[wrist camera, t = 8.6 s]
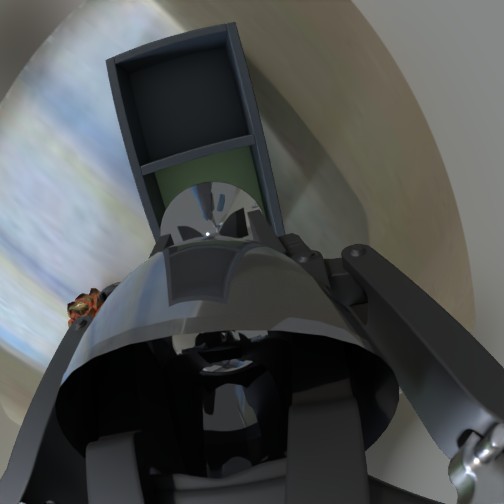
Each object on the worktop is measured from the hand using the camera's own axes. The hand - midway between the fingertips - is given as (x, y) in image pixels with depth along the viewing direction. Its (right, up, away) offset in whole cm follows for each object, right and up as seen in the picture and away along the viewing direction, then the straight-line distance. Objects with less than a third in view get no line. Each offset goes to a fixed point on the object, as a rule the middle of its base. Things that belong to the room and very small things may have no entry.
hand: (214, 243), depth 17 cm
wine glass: (0, +1, +2) cm, 2 cm away
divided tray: (-3, +9, +9) cm, 13 cm away
